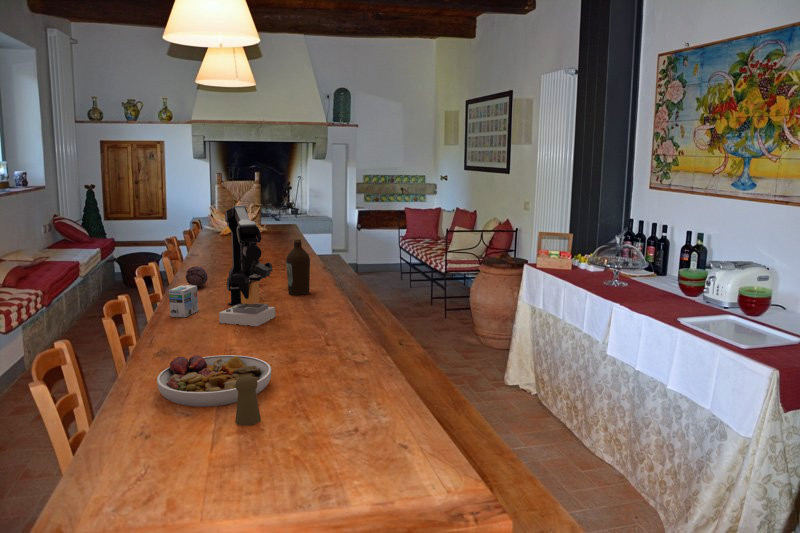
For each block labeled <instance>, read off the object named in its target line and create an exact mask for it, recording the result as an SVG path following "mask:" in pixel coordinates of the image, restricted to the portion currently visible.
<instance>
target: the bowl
mask: <svg viewBox="0 0 800 533" xmlns="http://www.w3.org/2000/svg"><path fill="white" fill-rule="evenodd" d="M242 376H253V377H255V378H256V379H257V382H258V385H257V388H256V395H258V394H260V393H261V392H262V391H263V390H264V389H265V388H266V387H267V386H268V384H269V383H270V381H271V378H272V367H271V365H270V363H268V362H267V361H264V360H263V359H260V358H256V357H253V356H246V355H233V354H231V355H229V354H227V355H211V356H203V357H202V356H201V355H199V354H197V355H193V356H190V357H189V359H188V358H186V357H185V356H178V357H176V358H174V359H172V361H170V363H169V367H166V368H165V369H164V370H162V371H161V372H160V373H159V374H158V376H156V385H157V388H158V390H159V392H160V394H161V395H162V396H163V397H164V398H165V399H167V400H168V401H170V402H173V403H174V404H178V405H181V406H187V407H198V408H200V407H201V408H204V407H205V408H207V407H209V408H210V407H220V406H225V405H226V406H227V405H231V404H234V403H235V404H237V399H238V391H237V389H236V386H235V384H236V380H237V379H238V378H239V377H242Z"/></svg>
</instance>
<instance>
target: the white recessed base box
mask: <svg viewBox="0 0 800 533" xmlns="http://www.w3.org/2000/svg"><path fill="white" fill-rule="evenodd" d="M247 308H256V309H255V310H254V309H247ZM218 318H219V324H225V323H226V325H228V324H229V325H236V324H239V326H247V325H250V326H249V327H260V326H261V325H263V324H265V323H267V322H268V321H271V320H272V319H274V318H276V307H275V306H269V304H267V303H266V304H265V303H259V302H257V303H255V304H238V305H232V306H231V307H229V308H227V309H225V310H222V311H218ZM270 319H271V320H270Z"/></svg>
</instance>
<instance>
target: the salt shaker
mask: <svg viewBox="0 0 800 533" xmlns="http://www.w3.org/2000/svg"><path fill="white" fill-rule="evenodd" d="M257 385H258V382H257V379H256V378H255V377H253V376H242V377H239V378H238V379H237V380H236V384H235V386H236V389H237V391H238V399H237V402H236V411H235V421H234V422H235V424H236V425H238V426H245V427H246V426H253V425H256V424H258V423H260V422H261V420H262V419H261V412H260V408H259V401H258V396H257V395H258V394H256V388H257Z"/></svg>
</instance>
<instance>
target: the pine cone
mask: <svg viewBox="0 0 800 533" xmlns="http://www.w3.org/2000/svg"><path fill="white" fill-rule="evenodd" d="M208 278H209V277H208V273H207V271H206V269H204V267H200V266H196V265H195V266H190V267H189V268H188V269H187V271H186V274H185V279H186V280H185V281H186V283H187V284H189V285H192V286H197V287H202V286H204V285H205V284H206V283H207V281H208V280H209V279H208Z"/></svg>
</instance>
